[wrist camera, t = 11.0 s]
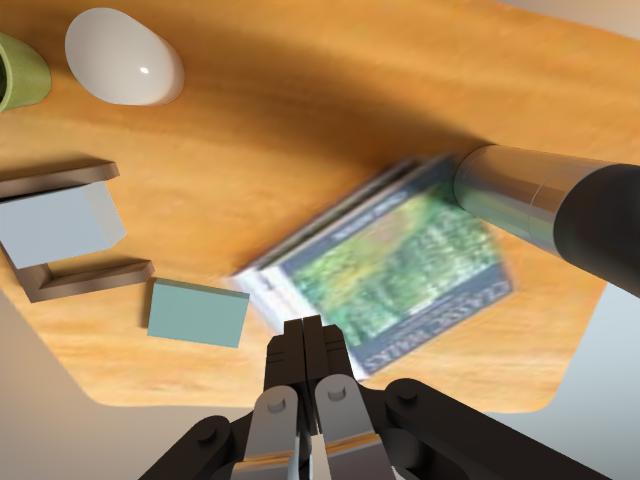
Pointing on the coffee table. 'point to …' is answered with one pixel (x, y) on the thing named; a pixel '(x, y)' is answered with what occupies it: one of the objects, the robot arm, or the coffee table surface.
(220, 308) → the green flat block
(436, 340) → the coffee table surface
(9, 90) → the plant pot
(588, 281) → the coffee table surface
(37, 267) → the display bay
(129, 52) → the white capsule shape
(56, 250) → the carton
